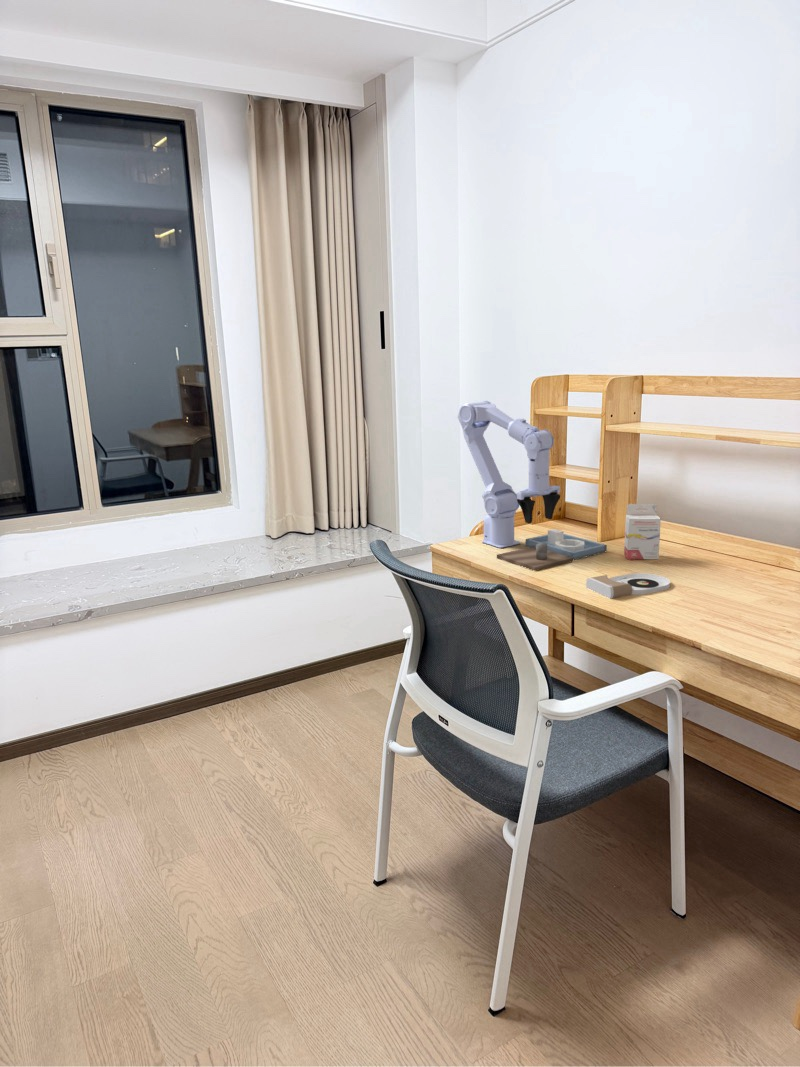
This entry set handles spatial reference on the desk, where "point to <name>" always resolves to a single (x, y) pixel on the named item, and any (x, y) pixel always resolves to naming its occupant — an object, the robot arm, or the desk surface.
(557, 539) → the ring
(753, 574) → the desk surface
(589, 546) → the tray
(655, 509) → the ink cartridge box
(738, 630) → the desk surface
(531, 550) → the stake board
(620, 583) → the record player
